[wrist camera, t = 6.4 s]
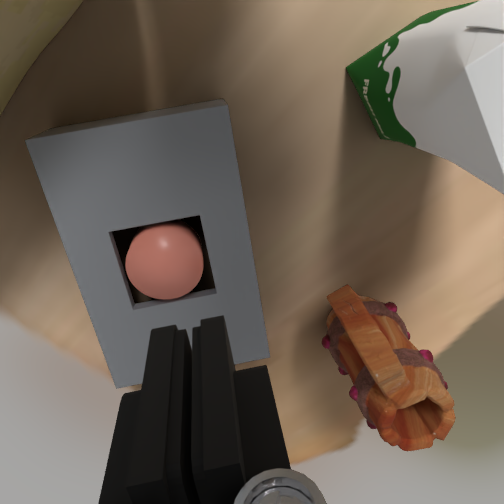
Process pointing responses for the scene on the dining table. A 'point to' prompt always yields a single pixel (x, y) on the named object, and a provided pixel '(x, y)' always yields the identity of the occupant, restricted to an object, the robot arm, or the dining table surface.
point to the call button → (165, 259)
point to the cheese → (27, 36)
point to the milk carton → (442, 87)
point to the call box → (149, 212)
